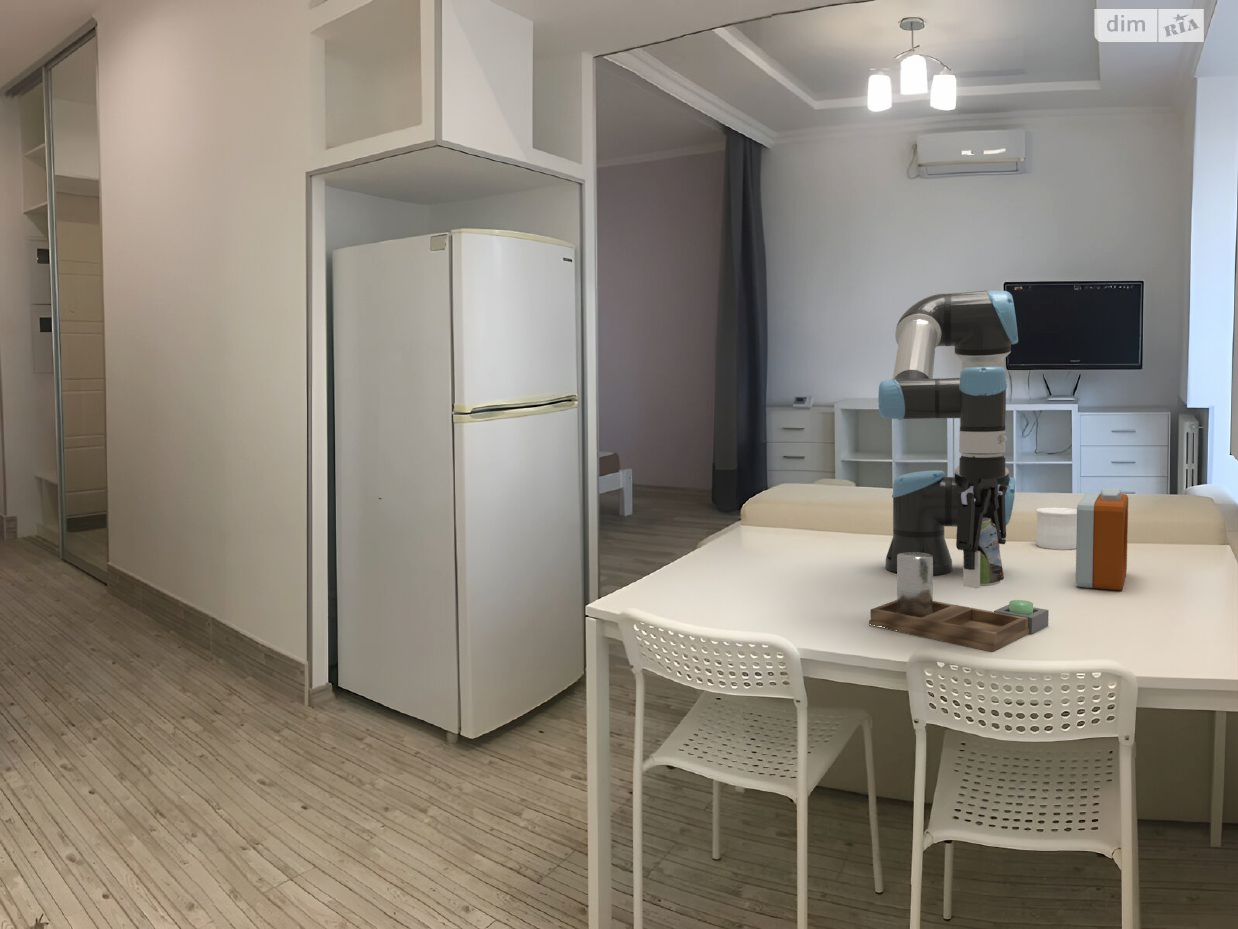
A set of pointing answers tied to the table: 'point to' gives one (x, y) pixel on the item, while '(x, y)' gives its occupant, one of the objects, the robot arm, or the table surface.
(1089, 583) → the orange and grey box
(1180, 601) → the table surface
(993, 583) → the beverage can
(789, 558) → the table surface
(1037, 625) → the button housing
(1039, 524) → the cup
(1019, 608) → the button
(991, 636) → the wooden divided tray
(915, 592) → the seated billet
